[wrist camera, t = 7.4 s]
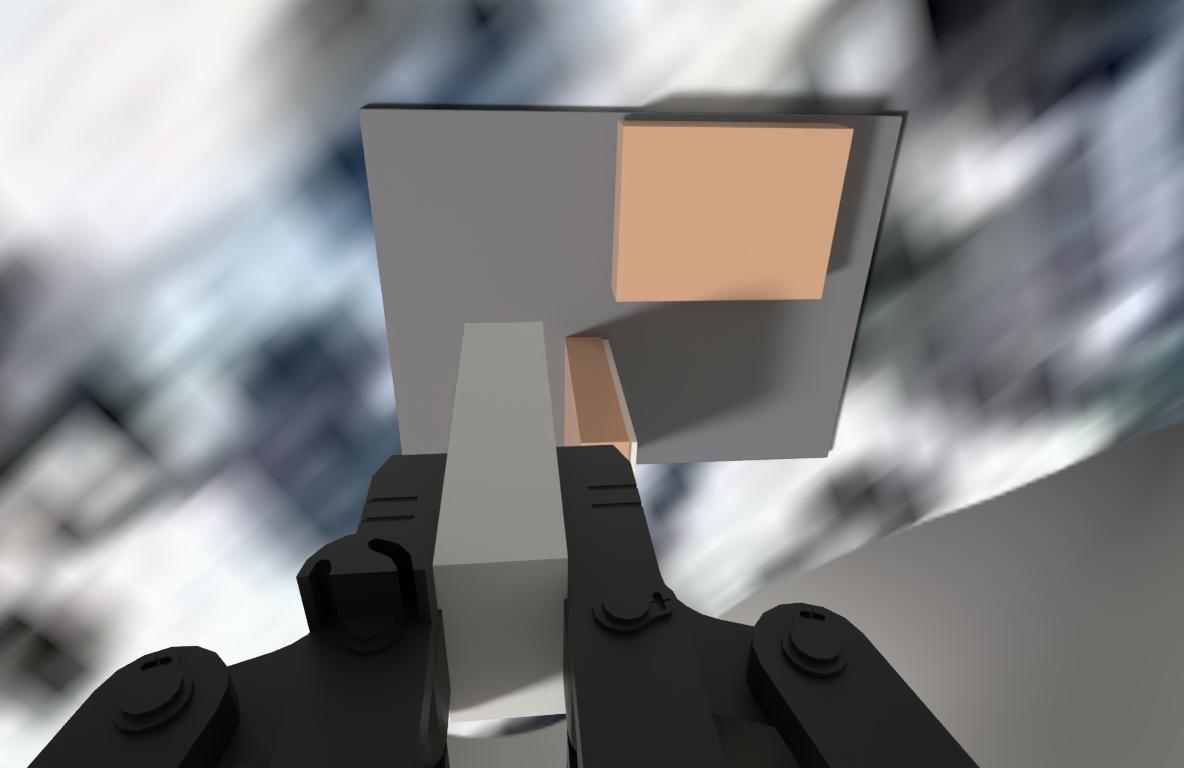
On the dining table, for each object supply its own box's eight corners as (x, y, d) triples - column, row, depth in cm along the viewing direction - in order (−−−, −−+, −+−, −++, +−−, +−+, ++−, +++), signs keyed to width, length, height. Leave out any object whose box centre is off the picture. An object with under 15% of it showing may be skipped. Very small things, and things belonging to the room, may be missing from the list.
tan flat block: (564, 337, 32) (581, 443, 24) (607, 336, 32) (637, 441, 24) (564, 462, 35) (578, 592, 27) (603, 461, 35) (628, 589, 27)
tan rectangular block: (623, 126, 26) (853, 129, 27) (616, 119, 27) (832, 122, 28) (616, 301, 29) (821, 299, 30) (610, 285, 31) (804, 283, 32)
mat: (360, 108, 27) (358, 109, 26) (898, 115, 29) (902, 116, 29) (405, 467, 35) (404, 472, 34) (824, 453, 37) (827, 457, 36)
